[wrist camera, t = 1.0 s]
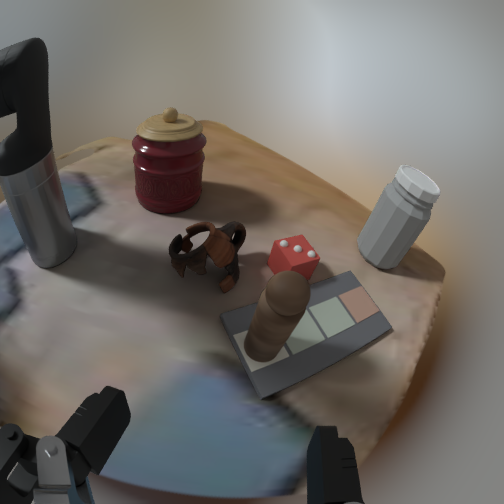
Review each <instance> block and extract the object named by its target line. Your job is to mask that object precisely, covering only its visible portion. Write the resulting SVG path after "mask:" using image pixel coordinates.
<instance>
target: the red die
mask: <svg viewBox="0 0 504 504" xmlns="http://www.w3.org/2000/svg"><path fill="white" fill-rule="evenodd" d="M319 260H320V257H319V256H318V254H317V253H316V252H315V250H314V249H313V248H312V246H311V245H310V244H309V243H308V241H307V240H306V239H305V237H304V236H303V235H298V236H294V237H289V238H285V239H280V240H276V241H274V244H273V247H272V250H271V253H270V256H269V259H268V262H267V264H268V265H269V267H270V269H271V270H272V272H273V273H274V275H275V274H277V273H279V272H282V271H295V272H297V273H299V274H301V275H302V276H303V277H304V278H305V279H306V280H309V279H310V277H311V275H312V273H313V271H314V269H315V268H316V266H317V264H318V262H319Z"/></svg>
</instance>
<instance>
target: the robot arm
mask: <svg viewBox="0 0 504 504" xmlns="http://www.w3.org/2000/svg"><path fill="white" fill-rule="evenodd" d="M12 113H17V129H16V130H15V131H14V132H13V133H11V134H10V135H9V136H7V137H6V138H5V139H4V140H3V141H2V142H1V143H0V185H1V188H2V191H3V194H4V197H5V199H6V202H7V205H8V207H9V210H10V212H11V215H12V217H13V219H14V222H15V224H16V226H17V229H18V231H19V233H20V235H21V237H22V240H23V242H24V244H25V246H26V248H27V250H28V252H29V254H30V256H31V258H32V260H33V261H34V263H35V264H36V265H38V266H40V267H44V268H49V267H53V266H56V265H59V264H60V263H62V262H64V261H65V260H66V259H67V258H68V257H69V256H70V255H71V254H72V253H73V251H74V249H75V247H76V244H77V238H76V234H75V231H74V228H73V225H72V222H71V219H70V215H69V212H68V209H67V205H66V202H65V198H64V194H63V190H62V187H61V183H60V178H59V174H58V170H57V166H56V161H55V156H54V151H53V146H52V140H51V124H50V111H49V96H48V53H47V48H46V46H45V43H44V42H43V41H42V40H41V39H40V38H31V39H28V40H25V41H22V42H19V43H16V44H14V45H11V46H9V47H6V48H4V49H2V50H0V118H1V117H4V116H6V115H10V114H12ZM130 418H131V413H130V410H129V406H128V403H127V400H126V396H125V393H124V391H122V390H119V389H116V388H113V387H111V386H106V387H105V388H104V389H103V390H102V391H101V392H100V394H98V393H94V394H92V395H90V396H89V397H87V398H86V399H85V400H84V401H83V403H82V404H81V405H80V407H78V409H77V410H76V411H75V413H74V414H73V415H72V416H71V417H70V419H69V420H68V421H67V422H66V424H65V425H64V426H63V427H62V429H61V430H60V431H59V432H58V433H57V435H55V436H45V437H43V438H41V439H39V438H36V437H33V436H29V435H26V434H24V433H23V431H22V430H21V428H20V427H19V426H18V425H16V424H6V425H4V426H3V427H2V428H1V429H0V504H31V503H32V501H33V499H34V502H35V504H95V502H94V499H93V496H92V492H91V488H90V484H89V480H88V477H87V476H88V474H89V472H92V473H94V474H97V475H99V474H100V472H101V470H102V468H103V467H104V465H105V463H106V462H107V460H108V458H109V457H110V455H111V453H112V451H113V450H114V448H115V446H116V445H117V443H118V441H119V440H120V438H121V436H122V435H123V433H124V431H125V430H126V428H127V426H128V425H129V422H130ZM355 458H356V457H355V452H354V447H353V445H352V444H351V443H350V441H349V440H348V438H338V432H337V427H336V426H317V427H316V429H315V431H314V434H313V436H312V439H311V441H310V443H309V446H308V450H307V504H365V503H364V502H363V500H362V495H361V488H360V481H359V475H358V469H357V463H356V460H355ZM17 462H18V465H17V466H16V468H15V469H14V471H13V472H12V474H11V475H10V477H9V478H8V480H7V477H8V475H9V473H10V472H11V470H12V469H13V467H14V466H15V465H16V463H17Z"/></svg>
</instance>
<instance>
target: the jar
mask: <svg viewBox="0 0 504 504" xmlns="http://www.w3.org/2000/svg"><path fill="white" fill-rule="evenodd" d="M395 176H396V177H395V178H394V180H393V181H392V183H390V184H387V186H386V187H385V188H384V190H383V192H382V194H381V196H380V198H379V200H378V202H377V204H376V206H375V208H374V209H373V211H372V213H371V215H370V217H369V219H368V220H367V222H366V224H365V226H364V228H363V229H362V231H361V233H360V235H359V236H358V238H357V241H358V248H359V252H360V253H361V255H362V256H363V258H364V259H365V260H366V261H367V262H368V263H370V264H371V265H373V266H374V267H377V268H380V269H390V268H394V267H396V266H397V265H398V264H399V262H400V261H401V260H402V258H403V257H404V256H405V254H406V253H407V252H408V250H409V249H410V247H411V246H412V245H413V243H414V242H415V240H416V239H417V237H418V236H419V234H420V233H421V231H422V230H423V229H424V227H425V225H426V224H427V222H428V221H429V219H430V215H431V209H432V207H433V203H435V202H436V201H437V199H438V197H439V196H440V189H439V188H438V186H437V185H436V183H435V182H434V181H433V180H432V179H431V178H429V177H428V176H427V175H426V174H424V173H423V172H421V171H420V170H418V169H416V168H413V167H411V166H408V165H401V166H400V167H399V169H398V171H397V173H396V175H395Z"/></svg>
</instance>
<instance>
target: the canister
mask: <svg viewBox="0 0 504 504" xmlns="http://www.w3.org/2000/svg"><path fill="white" fill-rule="evenodd" d="M202 130H203V126H202V125H201V123H199V122H198V121H196V120H194V118H192V117H191V116H188V115H184V114H178V112H177V110H176V109H174V108H167V109H165V110H164V112H163V114H159V115H155V116H152V117H150V118H148V119H147V120H146V121H144V122H143V123H141V124H140V125H139V126H138V127H137V130H136V131H137V134H138V135H136V136H135V138H134V139H133V141H132V146H133V148H134V150H135V155H134V157H133V163H134V169H135V181H136V185H135V191H136V196H137V198H138V201H139V203H140V204H141V205H142V206H143V207H144V208H146V209H147V210H150V211H153V212H157V213H176V212H180V211H184V210H186V209H188V208H190V207H192V206H193V205H194V204H196V202H197V201H198V200H199V197H200V194H201V191H202V171H203V162H204V159H205V156H204V153H203V151H202V150H203V147H204V146H205V145H206V137H205V136H204V135H203V134H202V133H201V132H202Z"/></svg>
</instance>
